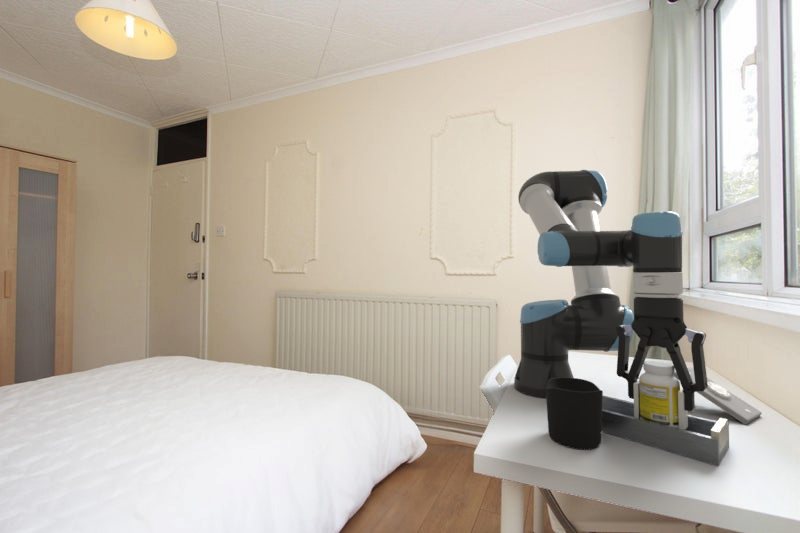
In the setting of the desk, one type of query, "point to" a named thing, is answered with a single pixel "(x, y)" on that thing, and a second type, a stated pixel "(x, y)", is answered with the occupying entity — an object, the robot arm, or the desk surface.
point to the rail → (668, 432)
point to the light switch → (726, 400)
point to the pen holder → (574, 412)
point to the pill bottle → (659, 393)
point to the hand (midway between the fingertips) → (660, 421)
